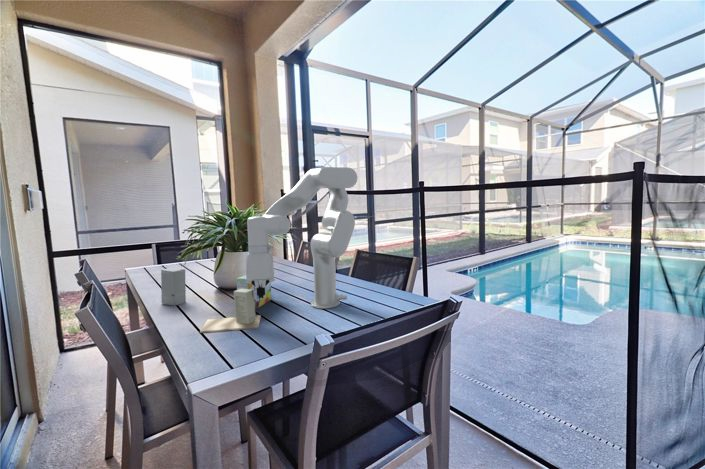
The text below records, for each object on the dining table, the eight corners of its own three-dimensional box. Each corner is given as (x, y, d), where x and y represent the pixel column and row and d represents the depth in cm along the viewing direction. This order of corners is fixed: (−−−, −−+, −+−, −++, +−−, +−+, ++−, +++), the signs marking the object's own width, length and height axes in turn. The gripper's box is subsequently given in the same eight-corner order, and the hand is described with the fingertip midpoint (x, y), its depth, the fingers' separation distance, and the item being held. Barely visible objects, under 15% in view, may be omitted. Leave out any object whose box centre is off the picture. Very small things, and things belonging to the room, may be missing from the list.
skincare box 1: (161, 304, 155) (158, 270, 153) (174, 299, 161) (172, 266, 160) (175, 306, 152) (172, 271, 150) (188, 301, 158) (185, 268, 156)
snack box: (249, 315, 139) (248, 278, 137) (237, 314, 140) (235, 278, 138) (272, 299, 160) (270, 267, 158) (261, 298, 161) (259, 267, 159)
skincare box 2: (256, 320, 130) (254, 289, 129) (248, 324, 127) (246, 292, 125) (243, 318, 133) (241, 287, 132) (235, 322, 129) (233, 290, 128)
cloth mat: (260, 316, 137) (260, 315, 137) (258, 327, 125) (258, 326, 125) (207, 320, 133) (207, 319, 133) (200, 333, 121) (199, 331, 121)
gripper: (279, 247, 133) (281, 293, 135) (239, 248, 130) (241, 295, 132) (279, 250, 126) (281, 298, 128) (236, 252, 123) (239, 301, 125)
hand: (261, 297), depth 130 cm, fingers closed
